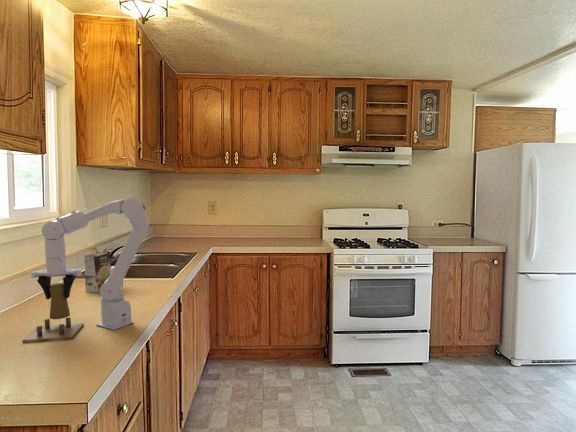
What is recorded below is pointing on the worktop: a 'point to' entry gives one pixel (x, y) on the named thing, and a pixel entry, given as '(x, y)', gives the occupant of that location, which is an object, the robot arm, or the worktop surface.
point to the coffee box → (96, 271)
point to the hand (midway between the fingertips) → (58, 298)
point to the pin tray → (54, 332)
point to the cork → (58, 302)
